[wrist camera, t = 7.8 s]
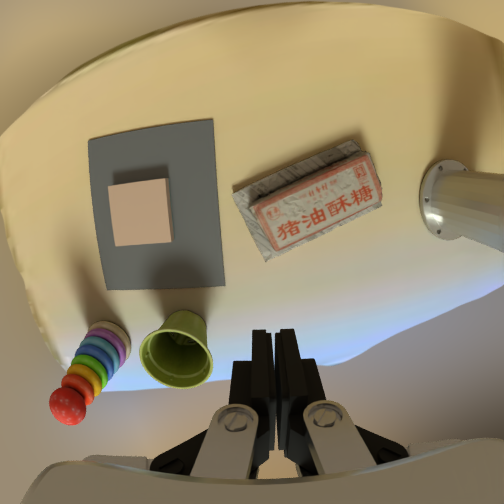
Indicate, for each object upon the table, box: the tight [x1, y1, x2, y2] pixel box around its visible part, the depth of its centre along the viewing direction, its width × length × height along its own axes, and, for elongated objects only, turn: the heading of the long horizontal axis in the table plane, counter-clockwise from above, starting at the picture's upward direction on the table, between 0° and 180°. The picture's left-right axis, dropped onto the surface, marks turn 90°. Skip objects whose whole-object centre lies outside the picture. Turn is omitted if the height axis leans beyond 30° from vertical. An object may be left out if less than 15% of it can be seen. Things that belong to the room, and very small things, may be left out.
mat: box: [88, 120, 225, 290], centre depth 37 cm, size 18×22×1 cm
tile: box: [108, 178, 175, 246], centre depth 35 cm, size 2×8×8 cm
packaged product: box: [232, 140, 382, 262], centre depth 35 cm, size 18×5×10 cm
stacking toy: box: [49, 321, 131, 425], centre depth 33 cm, size 8×8×19 cm
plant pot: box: [139, 310, 213, 389], centre depth 37 cm, size 9×9×9 cm
